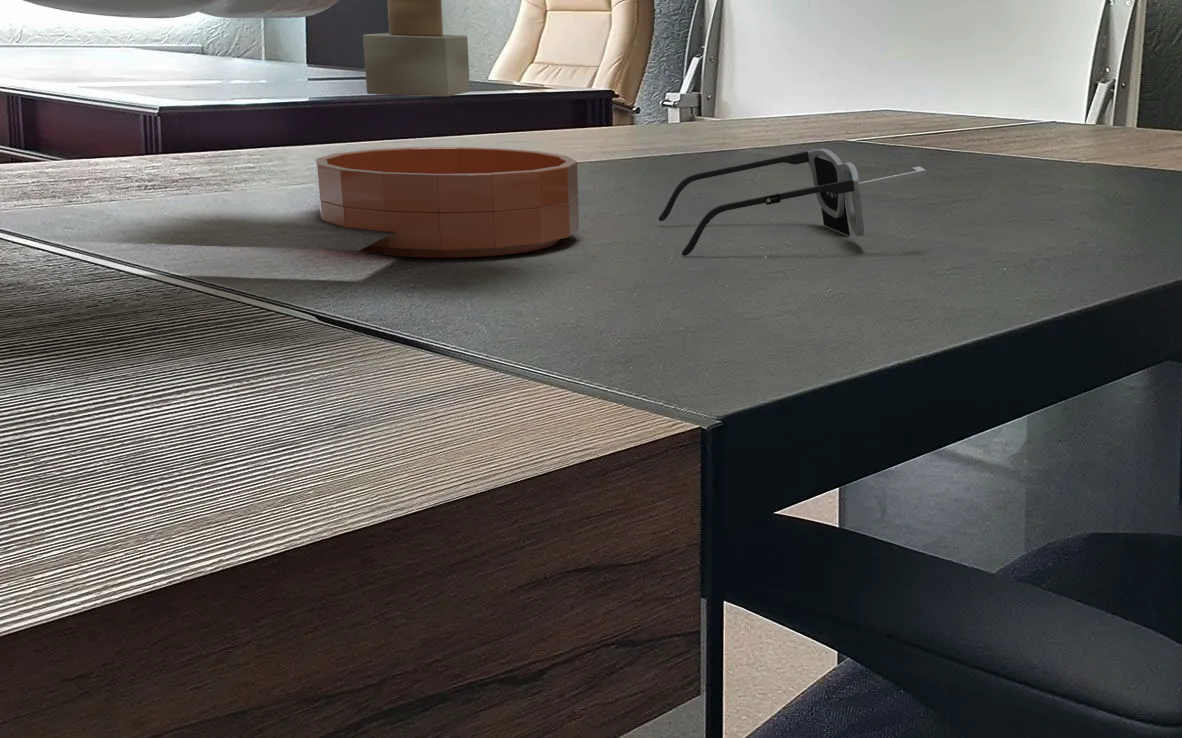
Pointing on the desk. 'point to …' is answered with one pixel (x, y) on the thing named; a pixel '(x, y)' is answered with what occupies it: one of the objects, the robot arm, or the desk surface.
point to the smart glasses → (804, 191)
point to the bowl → (451, 199)
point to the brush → (416, 53)
